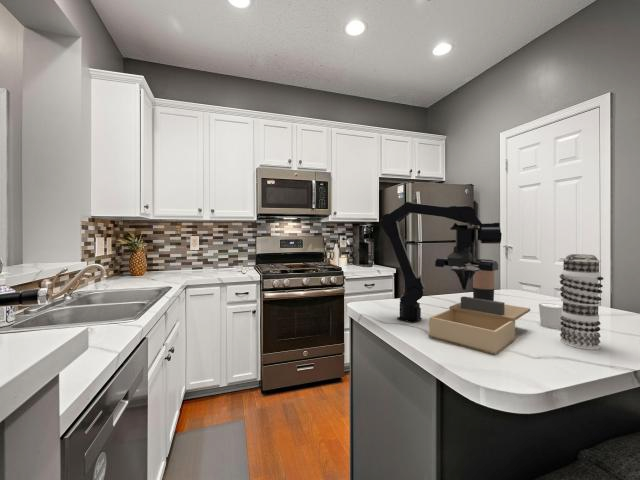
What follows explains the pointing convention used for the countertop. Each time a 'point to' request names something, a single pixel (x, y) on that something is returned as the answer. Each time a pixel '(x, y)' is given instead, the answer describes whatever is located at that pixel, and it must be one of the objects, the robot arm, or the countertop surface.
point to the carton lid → (490, 308)
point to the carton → (472, 330)
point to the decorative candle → (580, 301)
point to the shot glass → (550, 315)
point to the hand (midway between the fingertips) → (464, 289)
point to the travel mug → (483, 284)
